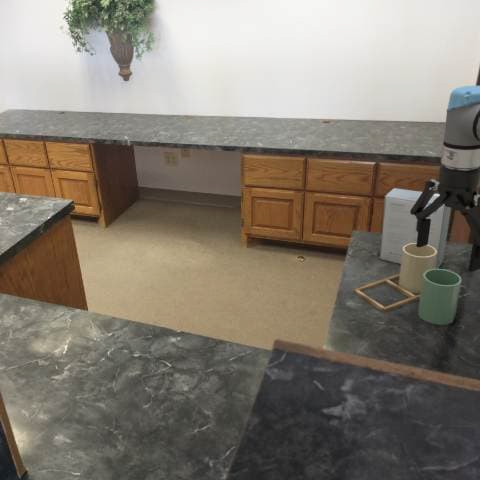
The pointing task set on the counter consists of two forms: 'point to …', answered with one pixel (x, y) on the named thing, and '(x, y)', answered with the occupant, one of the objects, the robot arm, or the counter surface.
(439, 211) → the hard drive box
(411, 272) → the cream cup
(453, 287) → the green cup
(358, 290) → the cup holder
